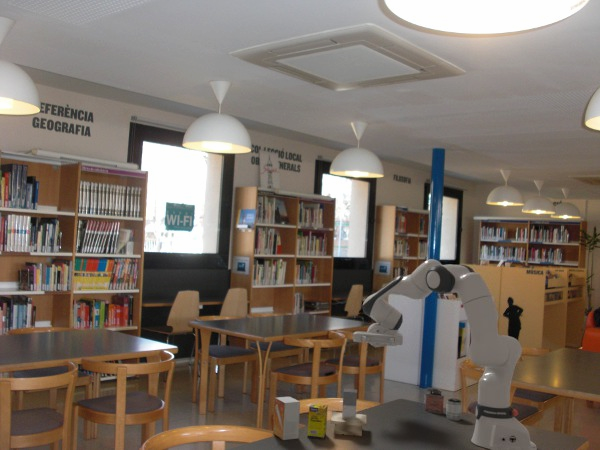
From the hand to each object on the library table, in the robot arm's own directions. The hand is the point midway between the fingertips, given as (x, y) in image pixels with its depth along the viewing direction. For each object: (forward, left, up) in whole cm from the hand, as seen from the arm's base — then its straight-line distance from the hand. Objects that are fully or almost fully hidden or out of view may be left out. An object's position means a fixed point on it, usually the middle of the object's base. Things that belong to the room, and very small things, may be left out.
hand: (378, 340), depth 259 cm
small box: (+32, +31, -32) cm, 55 cm away
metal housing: (+10, +18, -27) cm, 34 cm away
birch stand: (+10, +18, -32) cm, 38 cm away
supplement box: (+21, +28, -32) cm, 47 cm away
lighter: (-26, -23, -32) cm, 47 cm away
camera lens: (-33, -14, -32) cm, 48 cm away
